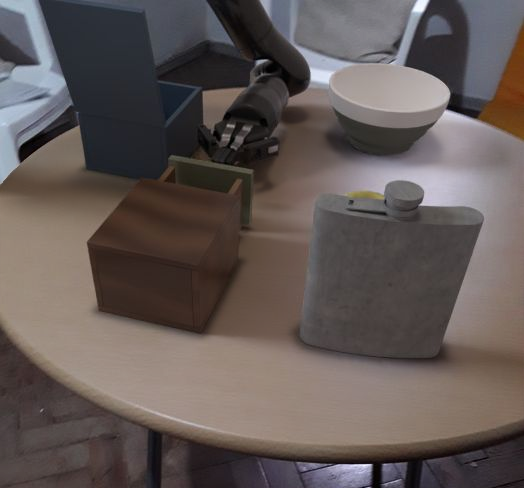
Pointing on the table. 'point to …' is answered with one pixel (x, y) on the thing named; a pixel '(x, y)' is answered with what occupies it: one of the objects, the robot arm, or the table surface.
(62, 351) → the table surface
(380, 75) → the bowl
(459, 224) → the hip flask
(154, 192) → the cabinet
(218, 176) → the drawer
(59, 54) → the lid
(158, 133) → the chest
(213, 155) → the robot arm
